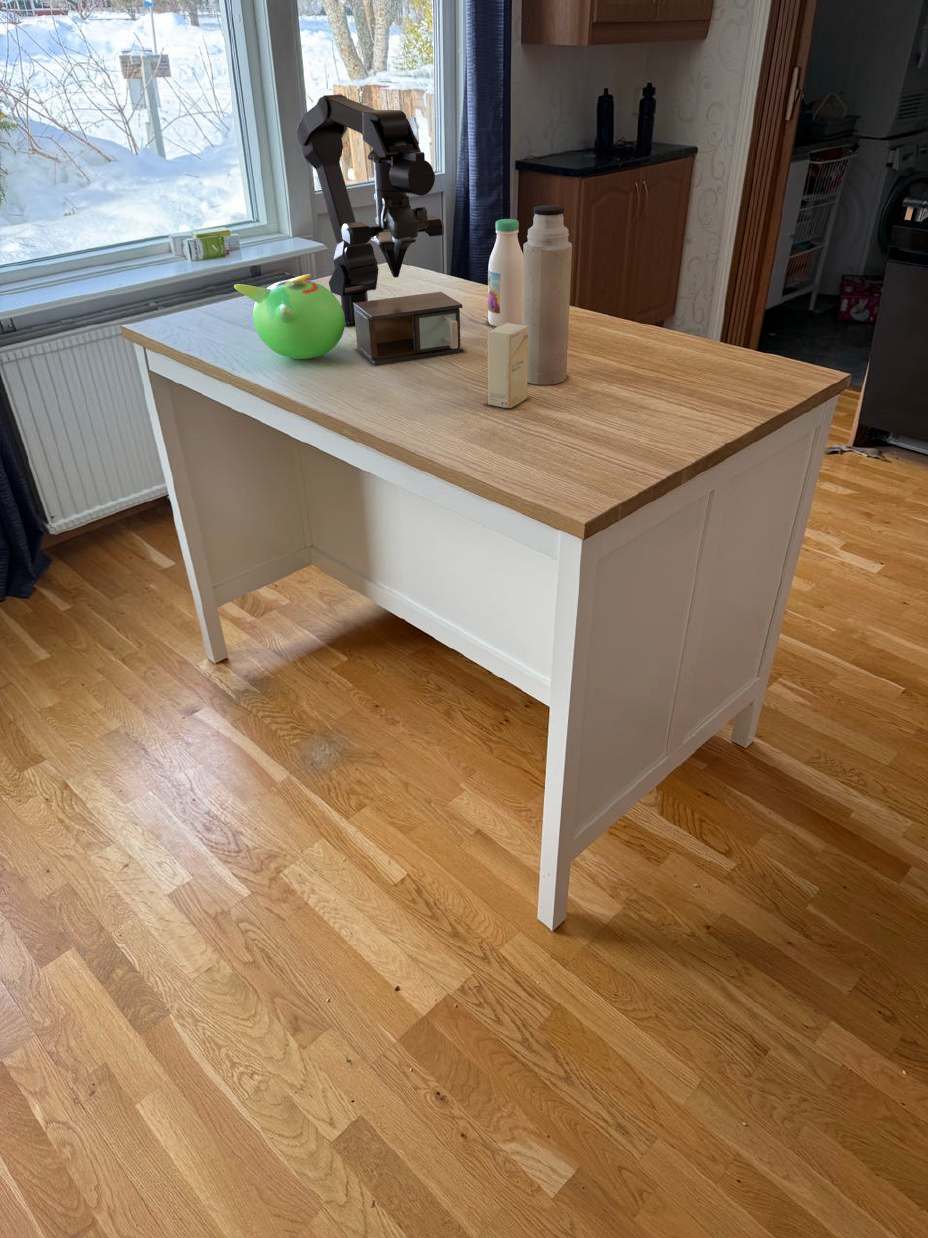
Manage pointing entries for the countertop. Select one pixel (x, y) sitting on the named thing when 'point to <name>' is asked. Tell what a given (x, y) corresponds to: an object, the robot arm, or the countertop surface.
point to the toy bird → (296, 317)
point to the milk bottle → (505, 276)
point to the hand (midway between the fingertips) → (395, 276)
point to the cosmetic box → (507, 365)
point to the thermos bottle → (547, 295)
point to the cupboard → (397, 326)
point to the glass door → (437, 330)
